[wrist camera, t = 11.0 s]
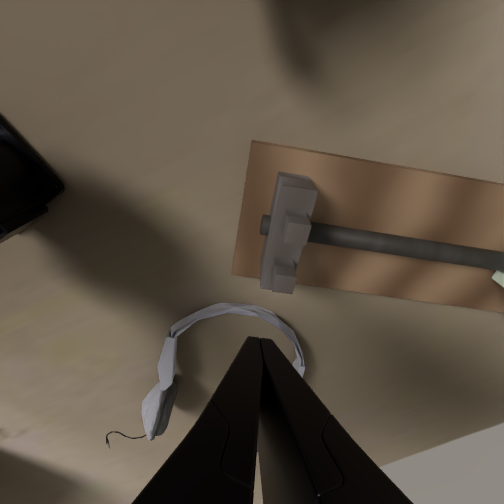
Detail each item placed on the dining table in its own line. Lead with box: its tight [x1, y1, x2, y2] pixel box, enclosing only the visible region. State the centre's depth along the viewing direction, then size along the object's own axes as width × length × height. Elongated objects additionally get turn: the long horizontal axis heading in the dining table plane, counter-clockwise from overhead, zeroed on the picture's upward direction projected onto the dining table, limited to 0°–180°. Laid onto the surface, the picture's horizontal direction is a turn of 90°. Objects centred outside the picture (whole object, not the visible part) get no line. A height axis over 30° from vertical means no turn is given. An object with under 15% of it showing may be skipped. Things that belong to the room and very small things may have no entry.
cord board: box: [232, 140, 504, 312], centre depth 19 cm, size 28×10×6 cm, turn 81°
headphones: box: [106, 302, 305, 452], centre depth 28 cm, size 17×6×20 cm
